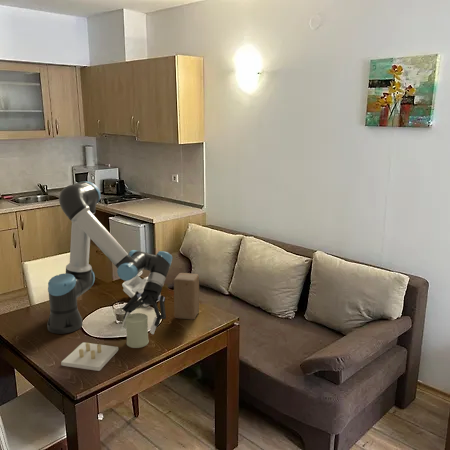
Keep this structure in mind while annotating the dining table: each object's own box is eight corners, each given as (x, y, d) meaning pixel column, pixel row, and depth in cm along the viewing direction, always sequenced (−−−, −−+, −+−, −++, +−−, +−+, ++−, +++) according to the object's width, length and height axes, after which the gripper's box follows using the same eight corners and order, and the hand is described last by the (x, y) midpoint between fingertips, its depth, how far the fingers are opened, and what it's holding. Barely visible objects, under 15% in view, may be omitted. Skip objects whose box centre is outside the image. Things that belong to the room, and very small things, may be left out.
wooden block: (194, 320, 217) (193, 280, 212) (173, 318, 218) (173, 278, 214) (199, 311, 226) (199, 273, 221) (180, 310, 228) (179, 271, 223)
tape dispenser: (156, 307, 242) (165, 289, 236) (141, 315, 233) (149, 296, 227) (131, 284, 250) (139, 266, 244) (116, 290, 240) (123, 272, 234)
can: (130, 336, 201) (129, 311, 198) (151, 338, 199) (150, 312, 197) (123, 347, 192) (122, 320, 189) (144, 348, 191) (143, 322, 188)
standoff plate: (61, 365, 178) (60, 354, 176) (83, 345, 193) (82, 335, 192) (99, 370, 174) (98, 360, 173) (118, 350, 189) (117, 340, 188)
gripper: (182, 292, 202) (166, 338, 192) (133, 284, 211) (116, 328, 201) (176, 285, 196) (160, 332, 186) (126, 277, 205) (108, 322, 195)
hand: (137, 330), depth 193 cm, fingers open, 13 cm apart
